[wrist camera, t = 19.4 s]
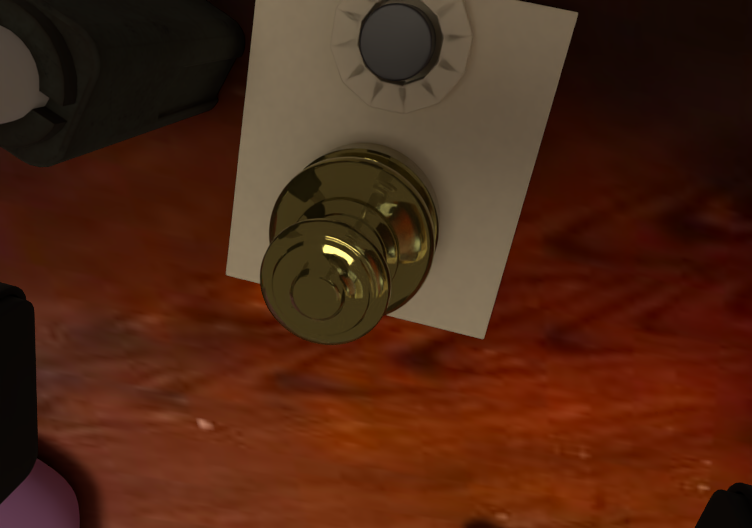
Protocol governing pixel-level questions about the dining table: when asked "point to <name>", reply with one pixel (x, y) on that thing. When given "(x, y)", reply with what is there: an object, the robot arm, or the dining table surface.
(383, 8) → the dark round knob center
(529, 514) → the dining table surface
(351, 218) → the brass cabinet knob
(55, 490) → the teapot
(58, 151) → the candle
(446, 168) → the white base plate
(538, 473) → the dining table surface
